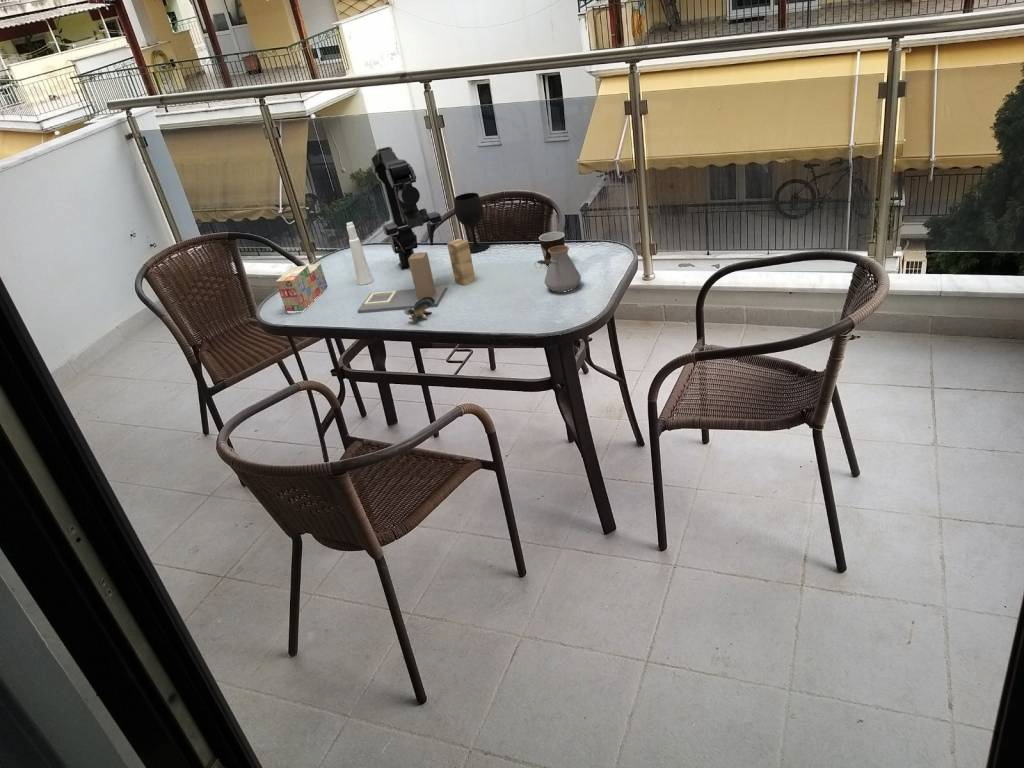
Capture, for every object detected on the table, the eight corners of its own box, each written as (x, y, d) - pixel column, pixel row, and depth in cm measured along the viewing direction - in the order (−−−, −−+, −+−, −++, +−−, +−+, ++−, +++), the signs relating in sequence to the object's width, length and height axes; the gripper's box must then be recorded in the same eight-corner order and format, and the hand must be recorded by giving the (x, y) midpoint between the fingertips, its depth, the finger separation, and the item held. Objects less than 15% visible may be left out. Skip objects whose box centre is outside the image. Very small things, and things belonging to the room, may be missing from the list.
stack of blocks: (312, 288, 277) (302, 256, 271) (328, 287, 275) (318, 255, 269) (286, 314, 259) (275, 280, 253) (303, 313, 258) (292, 279, 252)
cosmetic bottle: (358, 286, 271) (342, 227, 260) (356, 281, 276) (339, 222, 265) (375, 282, 272) (359, 222, 261) (372, 277, 277) (356, 218, 266)
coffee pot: (554, 279, 247) (547, 235, 240) (587, 280, 242) (581, 235, 235) (526, 308, 231) (519, 261, 224) (561, 309, 226) (555, 262, 219)
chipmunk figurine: (428, 322, 231) (441, 304, 237) (411, 305, 229) (424, 288, 235) (415, 332, 236) (427, 314, 242) (398, 316, 234) (411, 299, 240)
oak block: (455, 282, 259) (447, 243, 252) (466, 277, 262) (458, 238, 255) (464, 285, 255) (456, 245, 249) (475, 280, 258) (468, 240, 251)
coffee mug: (568, 267, 255) (565, 238, 250) (543, 270, 255) (538, 242, 251) (567, 255, 265) (563, 227, 260) (542, 258, 266) (538, 231, 261)
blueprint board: (371, 295, 261) (360, 254, 254) (447, 288, 255) (437, 246, 248) (358, 313, 249) (346, 270, 242) (436, 306, 243) (426, 262, 236)
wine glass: (462, 246, 291) (451, 195, 281) (488, 241, 291) (479, 190, 281) (463, 255, 281) (452, 202, 272) (491, 250, 282) (481, 197, 272)
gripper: (383, 211, 237) (396, 260, 242) (440, 197, 241) (451, 245, 247) (377, 208, 247) (389, 255, 252) (431, 194, 251) (443, 240, 257)
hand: (418, 249), depth 252 cm, fingers open, 9 cm apart
